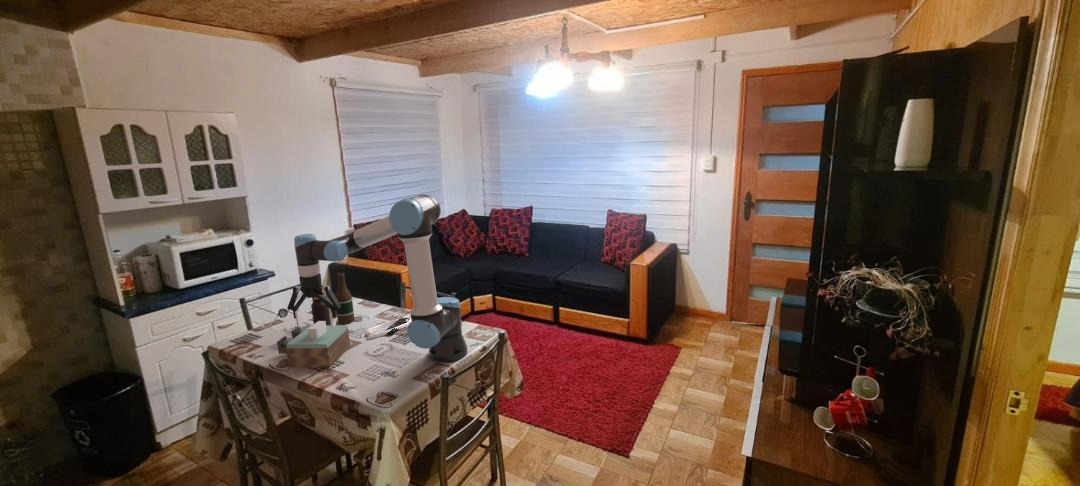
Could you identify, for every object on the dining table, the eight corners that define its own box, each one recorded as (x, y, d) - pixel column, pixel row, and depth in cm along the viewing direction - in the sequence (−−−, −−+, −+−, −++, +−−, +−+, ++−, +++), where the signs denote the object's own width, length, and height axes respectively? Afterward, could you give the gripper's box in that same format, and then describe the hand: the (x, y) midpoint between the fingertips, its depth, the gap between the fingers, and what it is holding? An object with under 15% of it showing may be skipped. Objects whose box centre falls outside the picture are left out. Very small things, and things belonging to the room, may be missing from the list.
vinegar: (322, 331, 213) (317, 289, 208) (335, 333, 211) (330, 290, 206) (312, 338, 206) (305, 294, 202) (324, 339, 204) (319, 295, 200)
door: (347, 328, 195) (346, 316, 194) (327, 348, 177) (325, 334, 176) (304, 329, 196) (302, 316, 194) (279, 348, 178) (277, 334, 177)
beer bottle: (340, 319, 227) (334, 271, 222) (356, 318, 228) (351, 270, 223) (335, 325, 220) (329, 276, 214) (352, 324, 221) (346, 275, 215)
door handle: (419, 324, 220) (370, 342, 202) (407, 319, 226) (358, 336, 208) (418, 318, 219) (369, 336, 201) (406, 314, 226) (357, 330, 207)
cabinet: (350, 346, 197) (347, 324, 194) (330, 367, 179) (326, 343, 177) (303, 346, 197) (299, 324, 195) (278, 367, 180) (274, 343, 178)
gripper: (345, 271, 184) (351, 321, 188) (283, 271, 185) (291, 322, 189) (337, 276, 176) (343, 329, 181) (272, 277, 177) (280, 329, 182)
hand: (316, 325), depth 185 cm, fingers open, 13 cm apart
